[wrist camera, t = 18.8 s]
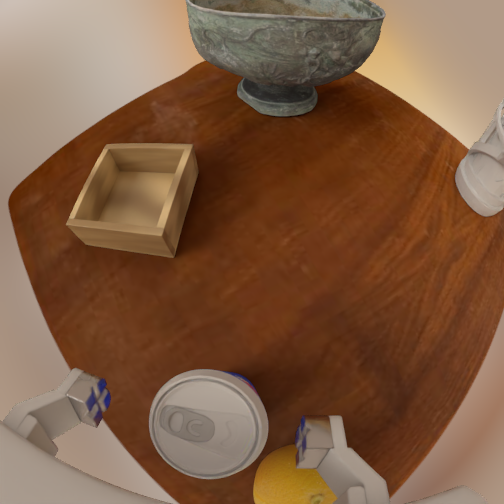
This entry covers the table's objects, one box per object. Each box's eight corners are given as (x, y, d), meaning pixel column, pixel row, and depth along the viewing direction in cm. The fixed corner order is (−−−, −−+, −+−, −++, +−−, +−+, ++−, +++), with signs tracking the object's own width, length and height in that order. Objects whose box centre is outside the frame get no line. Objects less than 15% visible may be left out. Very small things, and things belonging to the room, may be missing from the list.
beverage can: (263, 379, 24) (283, 384, 10) (250, 430, 22) (253, 496, 8) (207, 366, 24) (157, 352, 11) (194, 417, 22) (132, 461, 8)
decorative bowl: (308, 54, 48) (317, -26, 29) (388, 128, 39) (429, 27, 20) (184, 80, 44) (167, -13, 26) (233, 171, 35) (218, 23, 16)
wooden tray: (174, 257, 29) (161, 236, 24) (85, 244, 29) (65, 224, 25) (198, 171, 33) (193, 144, 29) (118, 168, 34) (106, 144, 30)
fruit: (258, 510, 18) (263, 552, 10) (245, 443, 21) (245, 469, 14) (348, 491, 18) (380, 521, 11) (339, 424, 22) (374, 439, 14)
